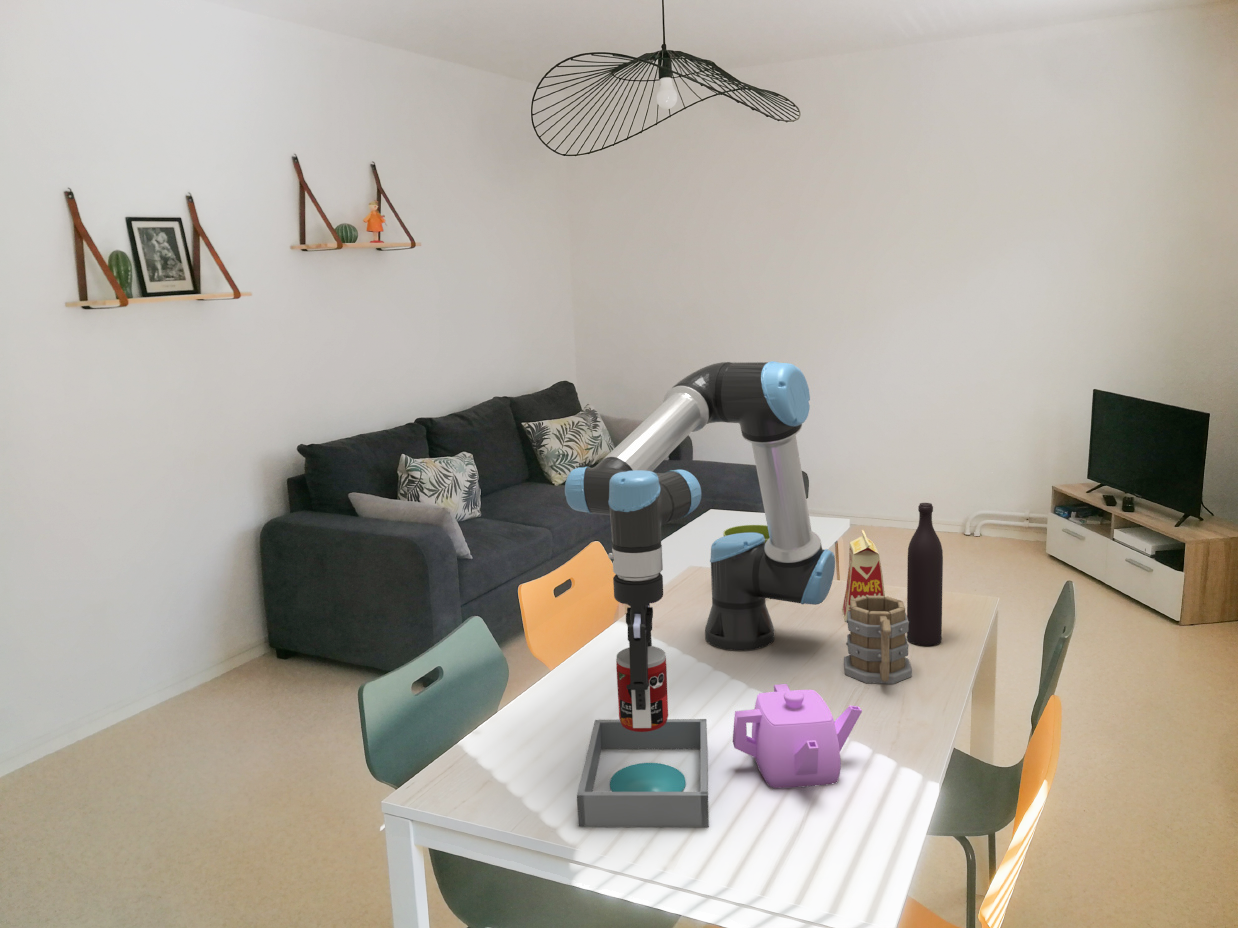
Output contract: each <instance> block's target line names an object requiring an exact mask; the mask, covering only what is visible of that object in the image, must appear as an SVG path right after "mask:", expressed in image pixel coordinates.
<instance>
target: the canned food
mask: <svg viewBox="0 0 1238 928" xmlns="http://www.w3.org/2000/svg"><path fill="white" fill-rule="evenodd" d="M615 657H616V658H615V661H616V663H615V664H616V682H617V683H616V685H617V699H618V701H617V703H618V705H617V706H618V718H619V719H618V720H620V722H621V724H622V726H623V727H624V728H626V729H628V730H631V731H636V732H648V731H653V730H656V729H659V728H661V727H662V726H663V725H665V723H666V722H667V719H669V718H668V717H669V703H668V702H669V701H668V699H669V698H668V676H667V675H668V674H667V673H668V669H667V655H666V652H665V650H663V649H662V648H660V647H658V646H657V647H656V646H654V645H652V646H648V683H649V685H650V708H651V728H633V714H632V693H631V689H627V686H626V685H630V652H629V647H627V648H624V649H622V650H620V651H619V652H617V654H616V656H615Z"/></svg>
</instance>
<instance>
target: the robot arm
mask: <svg viewBox="0 0 1238 928" xmlns="http://www.w3.org/2000/svg"><path fill="white" fill-rule="evenodd" d="M810 400H811V396H810V389H809V384H808V381H807V379H806V377H805V375H804V373H803V372H802V370H801V369H800V368H799V367H798V366H796V365H794V363H793V364H792V363H789V362H779V361H768V362H761V361H760V362H758V361H757V362H750V361H749V362H735V361H734V362H730V361H727V362H726V361H723V362H721V361H720V362H717V363H713V364H708V365H706V366H704V367H702V368H700V369H697V370H695V371H694V372H692V373H689V374H688V375H687V376H685V377H684V378H683V379H681V380H679V381H678V382H677V383H676V384H675V385H673V386H672V387H670V389H669V390H668V391H667V392H666V394H665V395H664V398H663V400H662V401H663V403H661V405H659V406H658V407H657V408H656V409H655V410H654V411H653V412H652V413H651V414H650V415H648V417H646V419H645V420H643V421H641V423H640V424H639V425H638V426H636V428H635V429H633V431H631V433H630V434H628V436H626V437H625V438H624V439H623V440H622V441H621V442H620V443H619V444H617V446H616V447H614V448H613V449H612V450H611V451H610V452H609V453H608V454H607V455H606V456H605V457H604V458H603V459H601V461H600V462H599V463H598V464H596V465H595V466H594V467H590V466H585V467H576V468H574V469H572V470H571V471H570V472H569V473H568V475H567V477H566V480H565V483H564V484H565V485H564V496H565V498H566V499H565V500H566V503H567V505H568V506H569V507H570V508H571V509H572V510H574V511H577V512H583V513H588V514H589V515H603V516H605V515H606V516H610V517H609V519H610V531H611V551H612V552H609V553H608V555H607V556H608V558H609V560H613V561H612V572H613V573H614V574H615V575H614V576H613V577H612V578H613V580H612V583H613V597H614V599H615V601H617V602H618V603H620V604H624V605H628V606H629V607H627V608H626V613H625V623H626V626H627V641H628V642H629V643H628V646H629V647H628V648H629V652H630V685H626V686H627V689H631V693H632V714H633V728H651V708H650V685H649V683H648V646H653V643H652V631H653V619H654V615H653V614H654V608H653V606H651V604H655V603H656V602H659V601H660V600H662V598H663V596H664V578H663V574H662V571H663V567H664V566H663V565H664V564H663V544H662V527H664V526H666V525H667V524H670V523H673V522H675V521H677V520H681V519H682V518H683V519H684V518H685V517H687V516H688V515H689V514H690V513H693V511H695V510H696V509H697V508H698V506H699V505H700V503H701V501H702V500H701V499H702V487H701V485H700V483H699V480H698V479H697V477H695V475H694V474H692V472H689V471H688V470H685V469H674V470H672V469H670V470H668V471H666V472H662V473H661V472H654V470H656V469H657V468H658V467H659V466H660V465H661V463H662V462H663V461H664V460H666V459H667V457H668V456H669V455H670V454H671V453H672V452H673V451H674V450H675V449H676V448H677V447H678V446H679V445H680V444H681V443H682V442H683V441H684V440H685V439H686V438H687V437H688V436H689V435H690V434H691V433H694V432H699V431H700V430H701V429H703V428H704V427H705V426H707V424H714V423H729V424H732V423H733V424H739V426H740V427H739V428H740V432H741V435H742V438H743V439H744V440H746V441H748V442H749V443H751V447H752V451H753V456H754V462H755V468H756V472H757V478H758V483H759V489H760V494H761V499H762V504H763V505H762V506H763V510H764V516H765V519H766V520H765V521H766V526H768V531H769V537H770V538H769V539H768V540H767V542H766V543H765V538H764V536H763V535H762V534H760V533H738V534H732V535H728V536H724V535H723V536H721V537H718V539H715V540H714V541H713V543H712V544H711V546H710V559H709V563H710V578H711V579H710V580H711V600H712V601H711V608H710V610H709V611H710V612H709V613H708V617H707V622H706V625H705V626H704V627H705V628H704V629H705V630H704V634H705V637H704V638H705V640H706V642H707V643H708V644H709V645H711V646H713V647H715V648H718V649H721V650H726V651H728V650H729V651H751V650H752V651H753V650H757V649H758V650H759V649H762V648H765V647H768V645H771V644H772V643H773V642H774V640H775V627H774V623H773V621H772V618H771V615H770V613H769V610H768V608H767V603H766V599H769V600H774V601H775V600H777V601H781V602H782V601H783V602H789V603H795V604H801V605H815V606H816V605H820V604H822V603H823V602H824V601H825V600H826V598H827V597H828V594H829V593H830V590H831V587H832V584H833V580H834V577H835V569H836V568H835V567H836V557H835V554H834V552H833V551H832V550H829V549H827V548H825V549H823V546H822V541H821V538H820V536H819V535H818V534H817V533H816V532H814V531H813V530H812V526H811V525H812V524H811V520H810V513H809V507H808V502H807V495H806V489H805V483H804V478H803V471H802V464H801V460H800V459H801V458H800V453H799V447H798V442H797V435H798V433H799V432H800V431H801V429H802V427H803V423H805V422H806V421H807V419H808V417H809V413H810V408H811V405H810V402H809V401H810Z"/></svg>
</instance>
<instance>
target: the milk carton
mask: <svg viewBox="0 0 1238 928" xmlns="http://www.w3.org/2000/svg"><path fill="white" fill-rule="evenodd" d="M861 533H862V535H861V536H858V537H857V538H855V539H853V540H851V541H850V542H849V547H848V548H849V553H848V554H849V556H848V569H847V570H848V571H847V577H846V578H847V579H846V586H845V593H844V597H843V598H844V599H843V602H842V608H841V612H842V615H844V616H843V618H844V622H846V620H847V612H848V611H850V601H851V600H853V599H856V598H859V597H863V596H865V597H866V596H885V597H886V591H885V585H884V576H883V570H882V564H881V558H880V553H879V551H878V549H877V546H876V545H875V543H874V542H873V541H872V540H871V539H869V538H868V537H867V535H866V533H865V529H861ZM846 623H847V622H846Z"/></svg>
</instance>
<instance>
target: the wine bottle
mask: <svg viewBox="0 0 1238 928" xmlns="http://www.w3.org/2000/svg"><path fill="white" fill-rule="evenodd" d="M918 512H919V518H918V526H917V527H916V530H915V531H914V533H913V535H912V537H911V539H910V541H909V544H908V549H907V569H906V570H907V575H906V576H907V580H906V581H907V582H906V584H907V586H906V587H907V588H906V590H907V593H906V597H907V598H906V615H907V618H908V621H909V624H908V632H907V633H906V639H907V642H909V643H911V644H913V645H916V646H922V647H932V646H933V647H934V646H937V645H939V644H940V643H941V642H942V639H943V638H942V637H943V636H942V630H943V629H942V628H943V578H944V577H943V572H944V571H943V570H944V566H943V565H944V559H943V558H944V555H943V554H944V553H943V552H944V551H943V546H942V543H941V541H940V538H939V536H938V534H937V533H936V530H935V529H934V526H933V512H934V506H933V504H932V503H931V502H920V503H919V505H918Z"/></svg>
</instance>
